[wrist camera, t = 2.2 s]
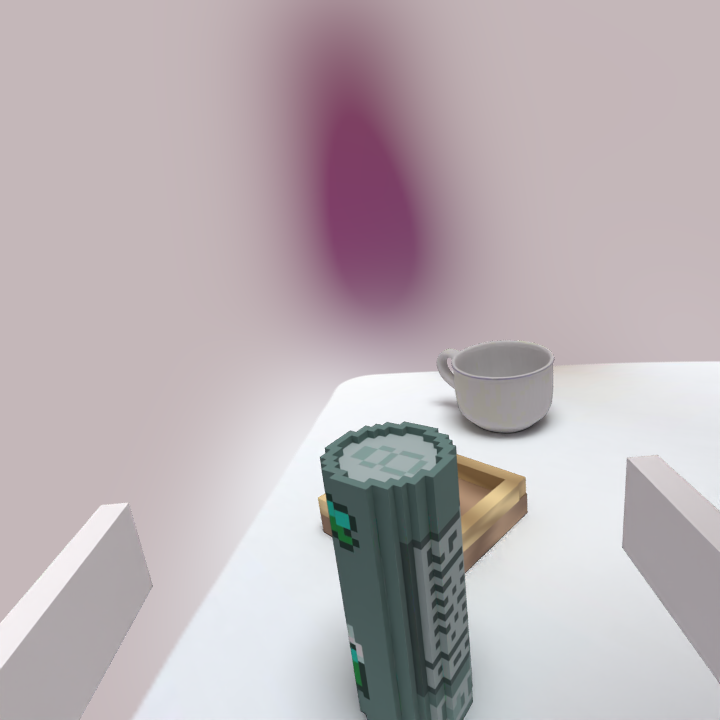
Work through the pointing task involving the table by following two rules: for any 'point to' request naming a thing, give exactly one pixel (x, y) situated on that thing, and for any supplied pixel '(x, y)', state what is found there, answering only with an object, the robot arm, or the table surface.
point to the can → (401, 569)
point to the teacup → (501, 383)
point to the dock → (478, 506)
